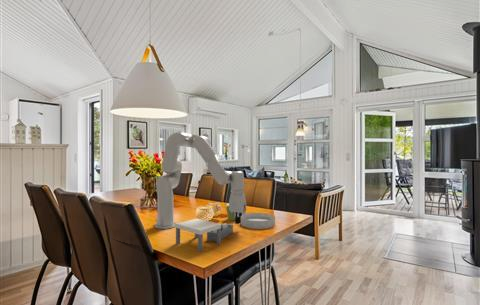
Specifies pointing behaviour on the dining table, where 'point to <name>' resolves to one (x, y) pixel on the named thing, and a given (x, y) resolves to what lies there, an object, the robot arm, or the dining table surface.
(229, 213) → the plant pot
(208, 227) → the low table
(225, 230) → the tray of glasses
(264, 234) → the dining table surface
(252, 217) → the dish
